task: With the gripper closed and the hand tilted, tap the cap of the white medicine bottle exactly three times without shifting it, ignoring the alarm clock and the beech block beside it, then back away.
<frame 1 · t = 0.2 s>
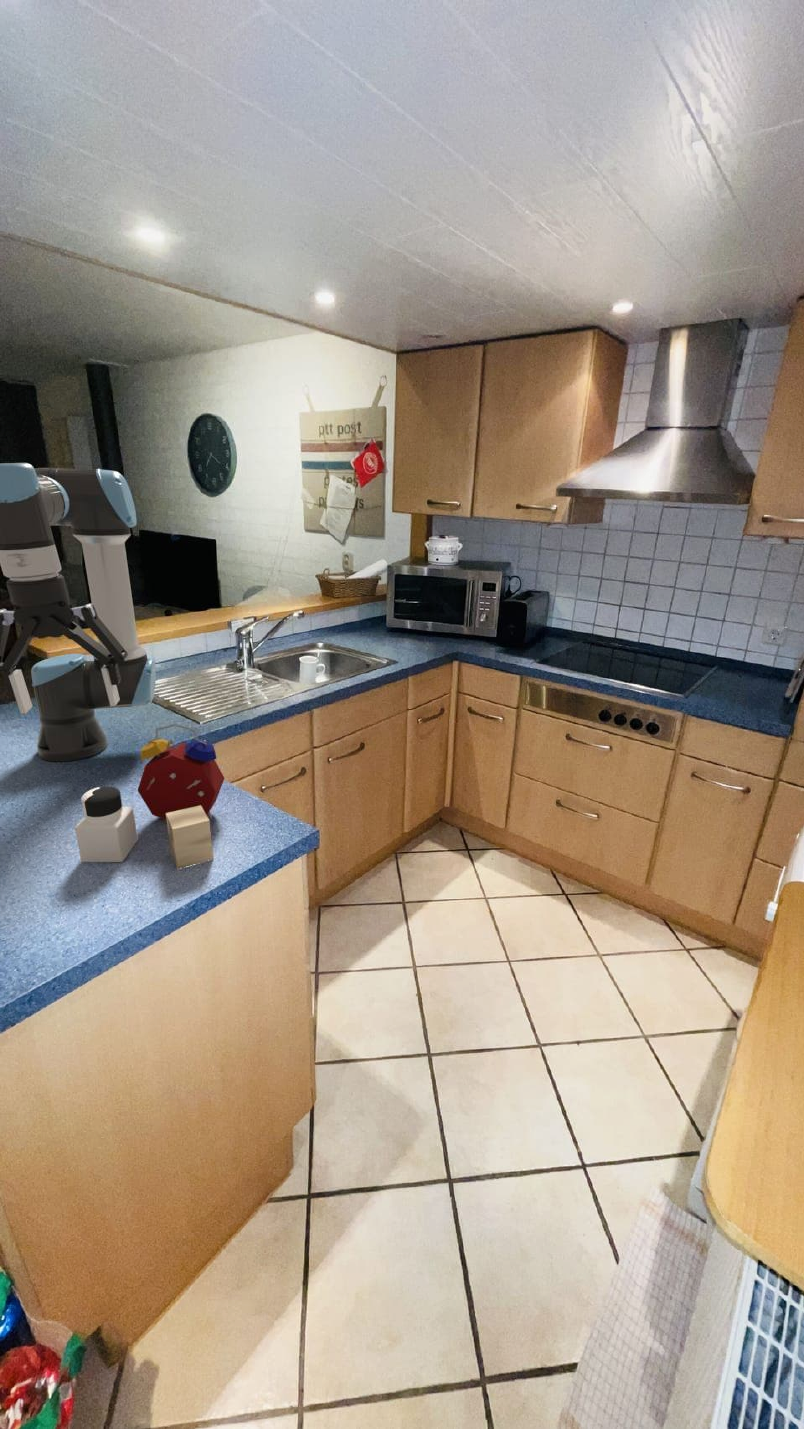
hand: (71, 706, 96), 27 cm above the counter, tool pointing down, fingers open, 13 cm apart
medicine bottle: (110, 852, 105), on the counter
alarm clock: (184, 821, 115), on the counter
beech block: (191, 856, 104), on the counter
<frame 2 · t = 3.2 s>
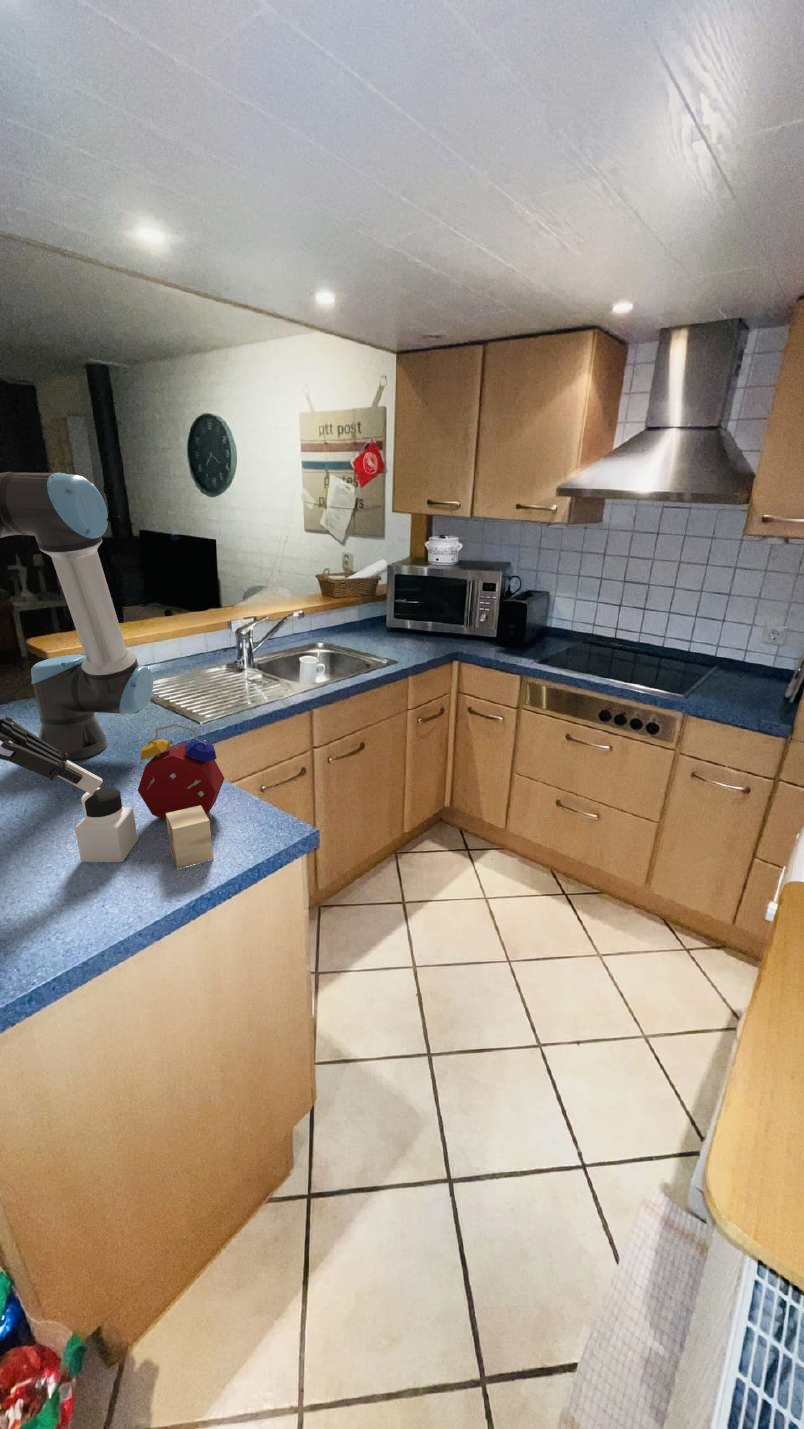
hand: (96, 786, 100), 13 cm above the counter, tool tilted 45°, fingers closed
medicine bottle: (110, 852, 105), on the counter, touching gripper
everything else where it was.
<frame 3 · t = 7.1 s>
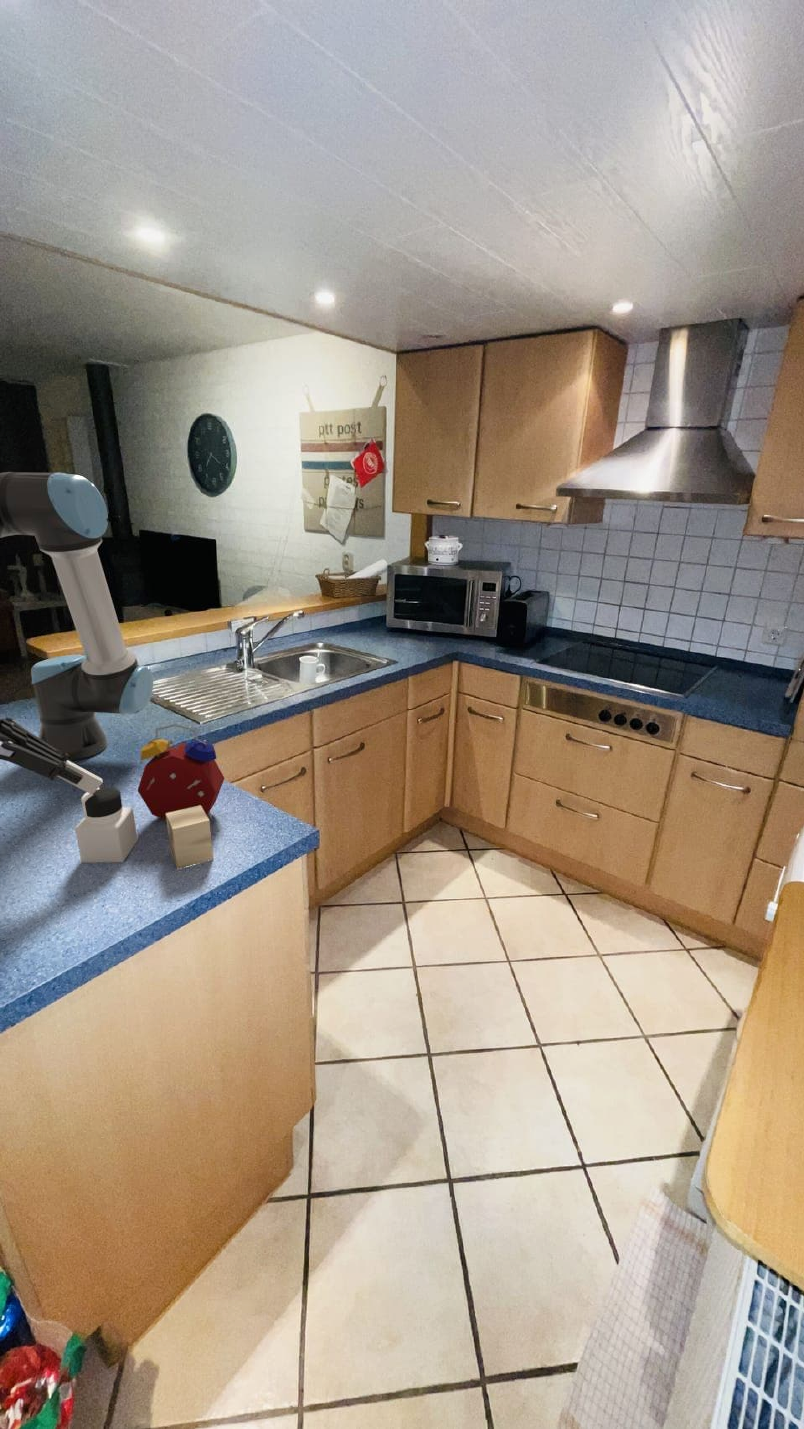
hand: (97, 786, 100), 13 cm above the counter, tool tilted 45°, fingers closed
nothing on the counter moved.
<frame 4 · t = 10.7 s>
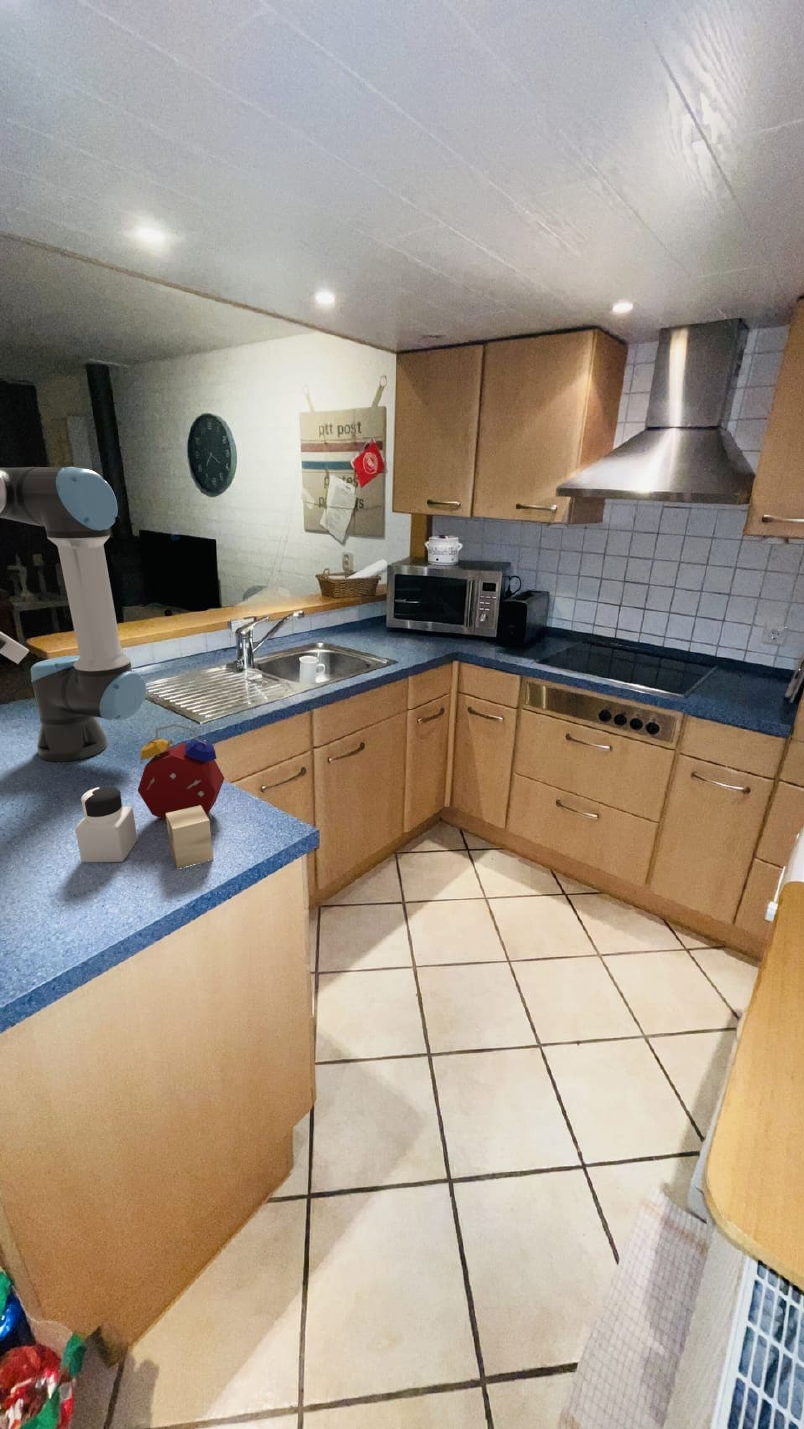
hand: (23, 656, 98), 34 cm above the counter, tool tilted 45°, fingers closed
medicine bottle: (110, 852, 105), on the counter
everything else where it was.
at the end: medicine bottle moved 0.2 cm from its start; medicine bottle tilted 0°; the gripper is holding nothing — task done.
